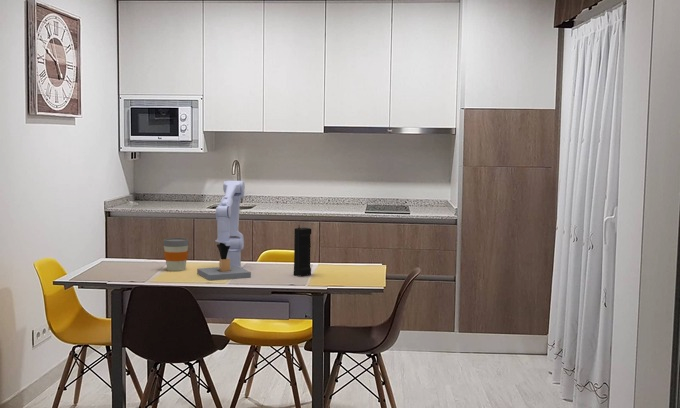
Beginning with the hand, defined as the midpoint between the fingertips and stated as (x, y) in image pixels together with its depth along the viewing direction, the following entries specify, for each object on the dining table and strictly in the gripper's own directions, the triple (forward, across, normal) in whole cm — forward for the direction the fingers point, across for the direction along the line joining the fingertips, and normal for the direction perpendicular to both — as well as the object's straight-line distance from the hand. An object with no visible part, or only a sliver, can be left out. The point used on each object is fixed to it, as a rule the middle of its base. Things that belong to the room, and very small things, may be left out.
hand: (223, 259), depth 380 cm
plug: (+8, 0, +1) cm, 8 cm away
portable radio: (+8, +14, +35) cm, 39 cm away
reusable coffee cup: (+8, -26, -16) cm, 32 cm away
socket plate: (+8, 0, 0) cm, 8 cm away
